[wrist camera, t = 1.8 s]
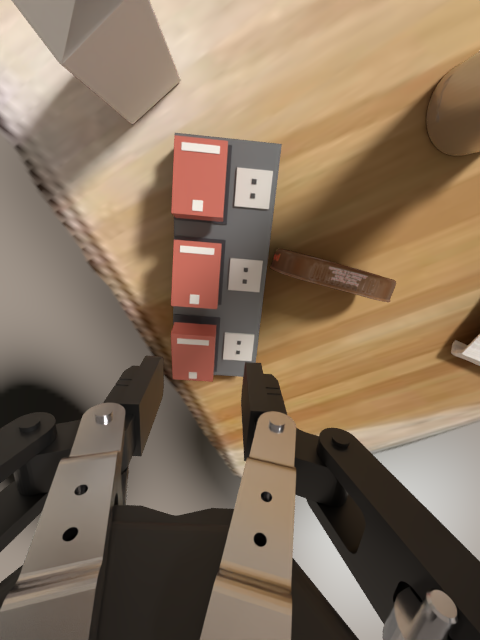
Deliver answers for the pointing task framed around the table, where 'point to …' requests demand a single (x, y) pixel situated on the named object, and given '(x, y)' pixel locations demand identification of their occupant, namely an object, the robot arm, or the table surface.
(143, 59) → the milk carton
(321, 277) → the tin
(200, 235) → the power strip
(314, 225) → the table surface
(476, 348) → the white flat bar
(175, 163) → the block
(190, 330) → the rocker
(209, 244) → the block
